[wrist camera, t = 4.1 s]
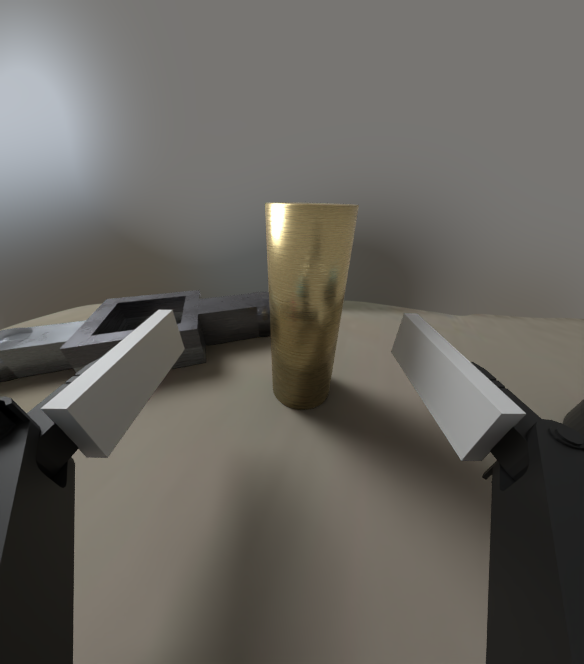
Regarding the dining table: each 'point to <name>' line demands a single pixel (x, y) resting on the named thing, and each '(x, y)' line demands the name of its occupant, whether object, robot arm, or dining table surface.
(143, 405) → the robot arm
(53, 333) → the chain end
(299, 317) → the gold tall cylinder
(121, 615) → the dining table surface
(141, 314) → the chain end
